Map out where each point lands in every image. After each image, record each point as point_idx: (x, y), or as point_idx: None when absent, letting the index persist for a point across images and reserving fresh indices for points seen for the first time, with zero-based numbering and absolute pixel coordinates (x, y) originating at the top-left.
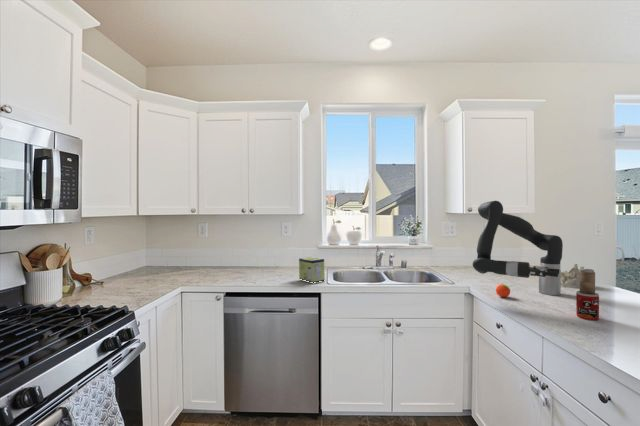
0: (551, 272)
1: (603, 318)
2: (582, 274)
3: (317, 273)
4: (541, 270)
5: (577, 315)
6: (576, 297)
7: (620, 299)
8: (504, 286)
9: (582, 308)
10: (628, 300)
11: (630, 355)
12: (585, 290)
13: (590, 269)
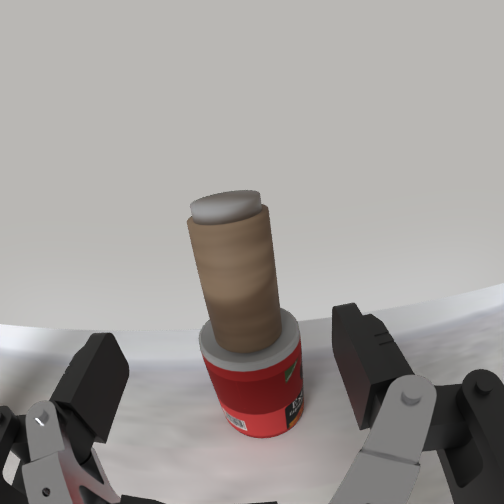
0: (382, 352)
1: None
2: (262, 233)
3: None
4: (416, 469)
5: (282, 432)
6: (265, 385)
7: (19, 342)
8: None
9: (301, 390)
10: (26, 333)
11: (490, 290)
12: (279, 316)
13: (207, 198)
